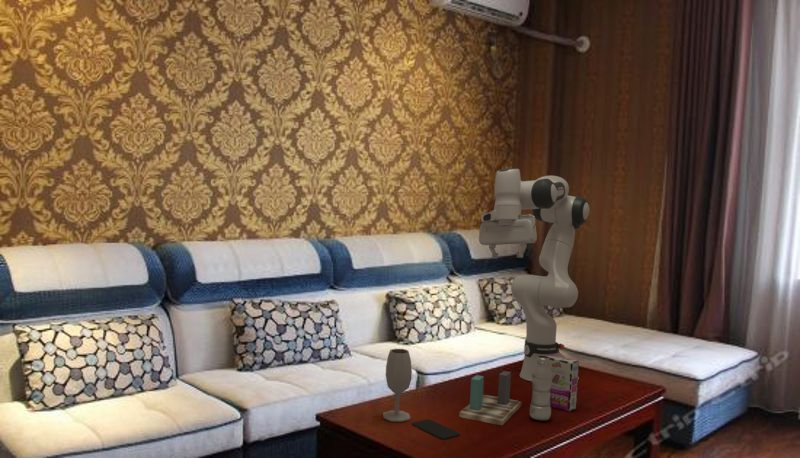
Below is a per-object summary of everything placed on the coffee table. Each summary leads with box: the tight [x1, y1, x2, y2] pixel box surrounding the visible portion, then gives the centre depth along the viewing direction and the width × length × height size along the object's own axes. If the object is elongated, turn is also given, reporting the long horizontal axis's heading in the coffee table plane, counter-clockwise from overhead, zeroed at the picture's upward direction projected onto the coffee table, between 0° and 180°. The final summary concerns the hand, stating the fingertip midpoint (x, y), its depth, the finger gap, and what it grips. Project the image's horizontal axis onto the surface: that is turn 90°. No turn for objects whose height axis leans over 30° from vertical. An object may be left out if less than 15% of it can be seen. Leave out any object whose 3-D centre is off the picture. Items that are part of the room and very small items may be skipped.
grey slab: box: [497, 370, 512, 405], centre depth 229 cm, size 2×5×10 cm, turn 155°
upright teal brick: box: [469, 374, 485, 410], centre depth 222 cm, size 2×5×10 cm, turn 155°
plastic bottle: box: [529, 356, 553, 422], centre depth 220 cm, size 6×7×20 cm
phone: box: [411, 418, 461, 441], centre depth 208 cm, size 7×1×15 cm
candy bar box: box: [547, 355, 580, 413], centre depth 234 cm, size 11×5×16 cm, turn 47°
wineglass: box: [382, 348, 413, 423], centre depth 215 cm, size 9×9×21 cm
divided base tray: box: [458, 393, 522, 426], centre depth 226 cm, size 14×21×2 cm, turn 155°
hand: (507, 257), depth 229 cm, fingers open, 8 cm apart
